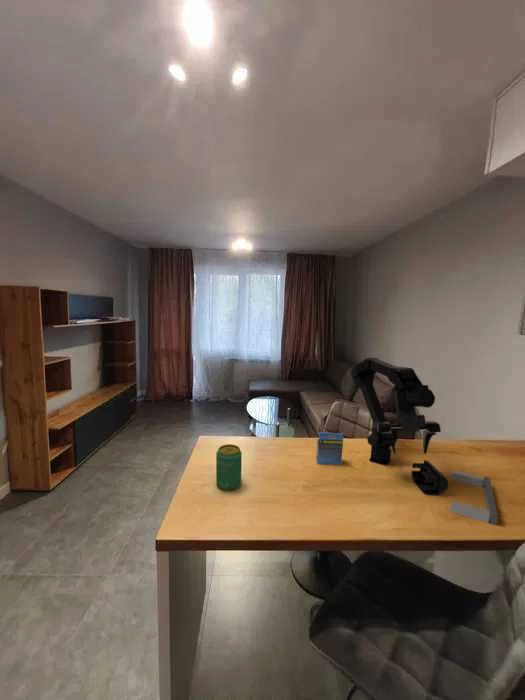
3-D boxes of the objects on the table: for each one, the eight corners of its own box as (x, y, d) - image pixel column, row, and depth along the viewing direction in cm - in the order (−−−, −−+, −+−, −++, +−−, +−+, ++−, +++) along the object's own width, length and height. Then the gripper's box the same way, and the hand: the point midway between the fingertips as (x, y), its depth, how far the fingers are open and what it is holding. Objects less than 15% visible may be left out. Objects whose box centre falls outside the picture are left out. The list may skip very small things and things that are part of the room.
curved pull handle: (450, 511, 95) (452, 502, 94) (451, 476, 114) (452, 468, 113) (496, 525, 90) (497, 515, 89) (488, 485, 108) (489, 477, 108)
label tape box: (339, 460, 124) (341, 429, 122) (341, 465, 120) (343, 433, 118) (315, 459, 124) (317, 428, 122) (317, 464, 120) (319, 432, 118)
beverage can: (245, 481, 108) (246, 446, 106) (233, 493, 101) (233, 457, 99) (224, 475, 111) (224, 441, 109) (211, 487, 104) (211, 451, 102)
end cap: (447, 496, 102) (450, 476, 101) (425, 495, 102) (427, 475, 101) (430, 478, 112) (432, 460, 111) (410, 478, 112) (412, 459, 111)
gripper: (377, 408, 104) (381, 459, 103) (442, 407, 99) (448, 460, 98) (375, 405, 115) (378, 451, 113) (434, 404, 110) (438, 451, 109)
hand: (409, 453), depth 108 cm, fingers open, 9 cm apart
